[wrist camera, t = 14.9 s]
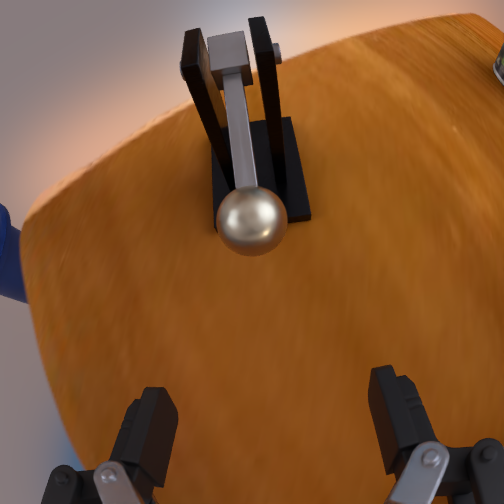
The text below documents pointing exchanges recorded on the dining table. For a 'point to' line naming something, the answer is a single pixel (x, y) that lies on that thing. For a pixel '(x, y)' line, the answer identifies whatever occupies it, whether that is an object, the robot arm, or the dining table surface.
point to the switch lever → (243, 158)
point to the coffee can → (499, 66)
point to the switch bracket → (263, 132)
